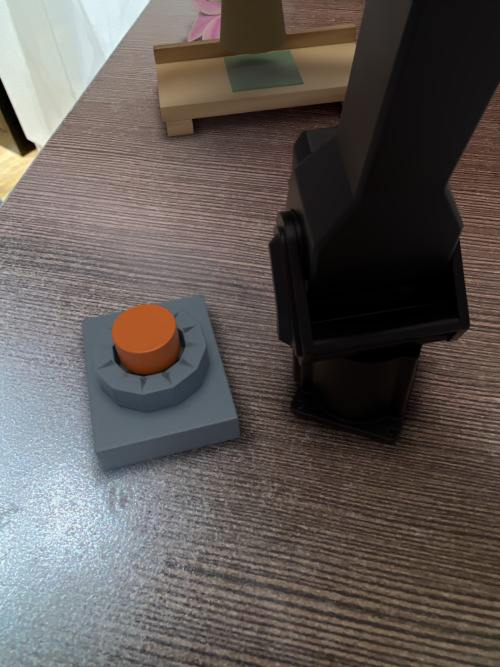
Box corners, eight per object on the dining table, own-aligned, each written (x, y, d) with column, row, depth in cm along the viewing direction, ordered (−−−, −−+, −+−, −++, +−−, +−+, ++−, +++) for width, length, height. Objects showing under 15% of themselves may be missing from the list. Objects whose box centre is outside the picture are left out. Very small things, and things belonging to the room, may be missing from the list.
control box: (240, 438, 35) (236, 399, 32) (103, 472, 34) (86, 436, 31) (205, 315, 41) (199, 273, 38) (89, 340, 40) (73, 300, 37)
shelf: (374, 112, 57) (380, 65, 54) (165, 137, 56) (157, 91, 52) (350, 67, 63) (354, 23, 59) (160, 89, 62) (152, 45, 58)
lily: (197, 25, 73) (154, -41, 65) (286, -19, 69) (252, -95, 61) (206, 101, 69) (160, 41, 61) (301, 59, 65) (267, -12, 57)
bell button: (186, 367, 34) (181, 344, 32) (122, 381, 34) (115, 359, 32) (175, 321, 36) (170, 298, 35) (115, 334, 36) (108, 311, 34)
